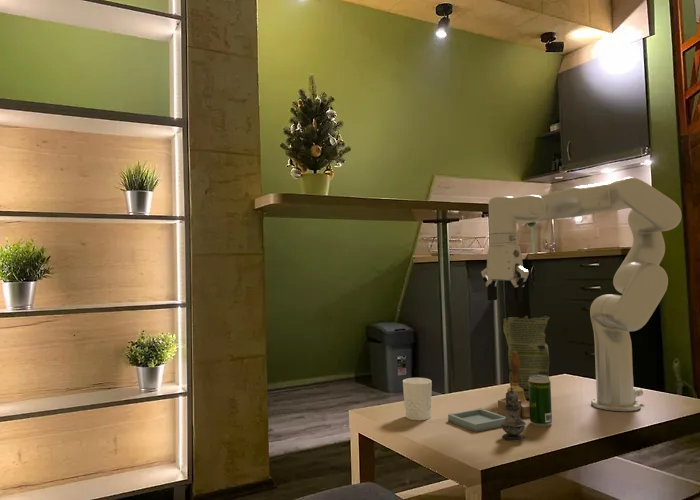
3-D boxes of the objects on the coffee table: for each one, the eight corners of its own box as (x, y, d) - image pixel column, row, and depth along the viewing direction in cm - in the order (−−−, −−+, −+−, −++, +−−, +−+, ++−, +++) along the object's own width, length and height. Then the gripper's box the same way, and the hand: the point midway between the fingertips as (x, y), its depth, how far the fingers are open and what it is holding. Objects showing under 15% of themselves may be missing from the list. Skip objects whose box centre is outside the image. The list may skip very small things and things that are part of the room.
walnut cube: (507, 413, 150) (506, 397, 150) (522, 416, 146) (521, 400, 146) (498, 417, 147) (497, 400, 147) (513, 420, 143) (512, 403, 143)
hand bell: (504, 402, 161) (502, 349, 161) (533, 405, 157) (531, 350, 158) (498, 409, 154) (496, 353, 154) (528, 412, 150) (526, 354, 150)
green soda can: (556, 423, 139) (554, 376, 139) (544, 428, 136) (543, 380, 136) (537, 419, 143) (535, 373, 143) (525, 423, 140) (524, 376, 140)
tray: (480, 414, 149) (480, 408, 149) (509, 424, 139) (508, 417, 139) (448, 421, 144) (448, 414, 144) (475, 431, 134) (475, 424, 134)
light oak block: (534, 412, 151) (533, 401, 151) (543, 415, 147) (542, 404, 147) (515, 414, 149) (515, 403, 149) (524, 418, 145) (523, 407, 146)
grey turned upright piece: (497, 434, 132) (495, 384, 132) (520, 433, 132) (518, 383, 132) (506, 442, 126) (504, 390, 126) (530, 441, 126) (528, 389, 127)
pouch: (502, 395, 169) (499, 315, 170) (525, 389, 176) (522, 312, 177) (532, 402, 160) (529, 317, 161) (556, 395, 167) (553, 314, 168)
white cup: (435, 414, 151) (433, 378, 151) (429, 422, 143) (428, 384, 144) (407, 412, 153) (406, 377, 154) (400, 420, 146) (399, 383, 146)
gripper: (536, 238, 148) (538, 301, 147) (491, 242, 163) (492, 299, 162) (516, 238, 144) (518, 303, 143) (472, 241, 159) (473, 300, 159)
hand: (504, 300), depth 153 cm, fingers open, 9 cm apart
